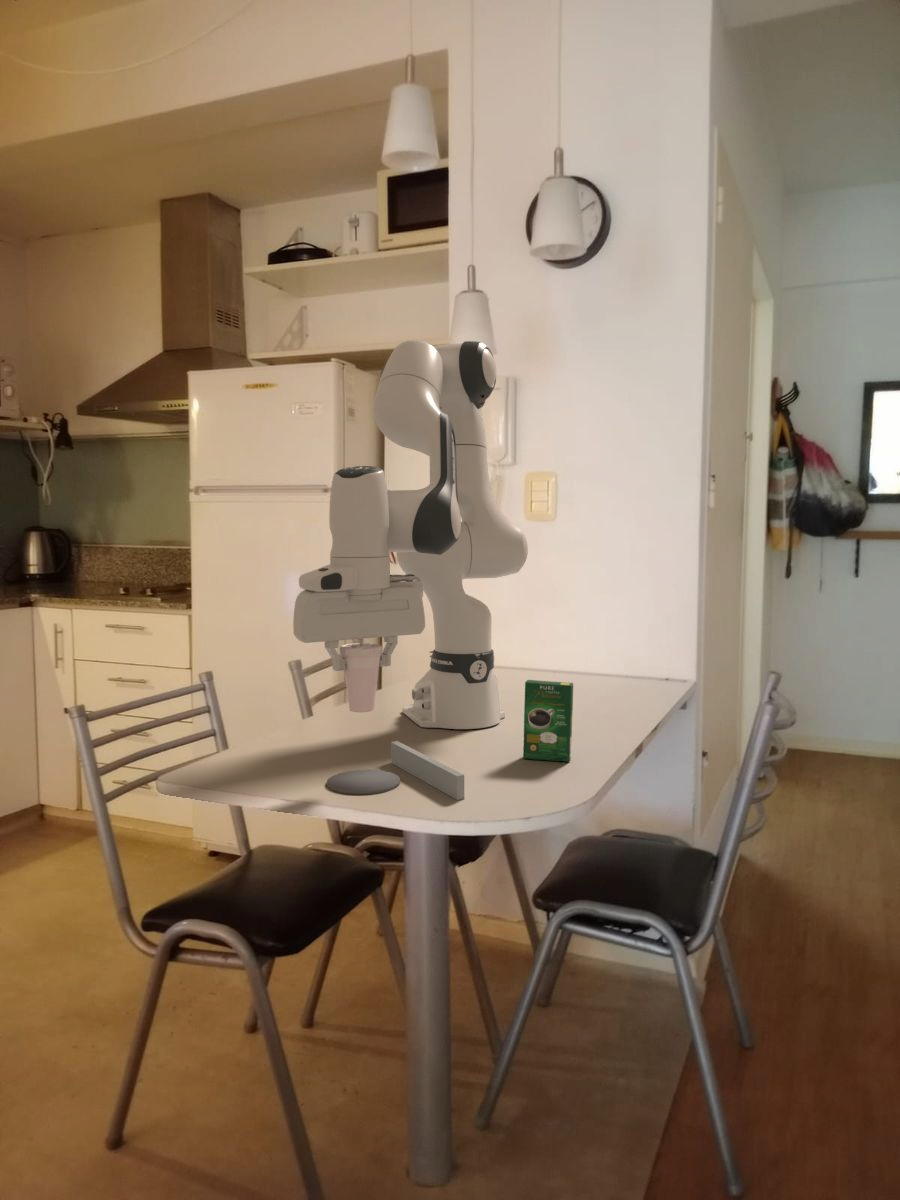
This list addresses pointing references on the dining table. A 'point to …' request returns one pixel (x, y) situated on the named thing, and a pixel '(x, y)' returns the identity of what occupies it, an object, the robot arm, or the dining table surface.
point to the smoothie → (361, 674)
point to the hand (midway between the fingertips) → (361, 668)
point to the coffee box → (548, 720)
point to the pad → (363, 782)
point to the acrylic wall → (428, 770)
